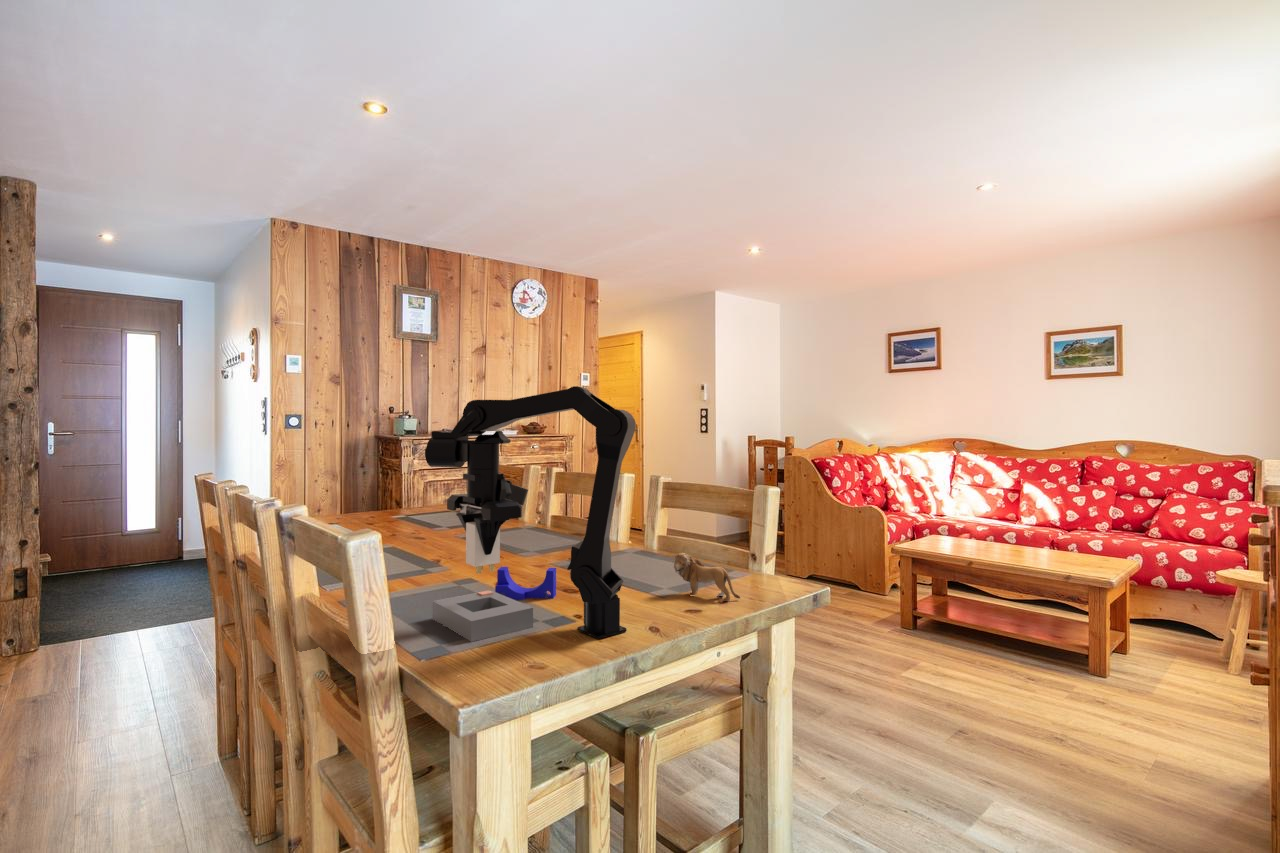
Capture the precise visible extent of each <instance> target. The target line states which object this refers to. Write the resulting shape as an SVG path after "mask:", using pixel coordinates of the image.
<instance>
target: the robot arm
mask: <svg viewBox="0 0 1280 853" xmlns="http://www.w3.org/2000/svg"><path fill="white" fill-rule="evenodd" d="M573 410H574V411H576V412H577V414H579V415H580V416H581V417H582V418H583V419H585V420H586V421H587V422H588V423H589V424H591V425H592V426H593V427H595V446H596V452H597V465H596V470H595V474H594V475H595V476H594V482H593V487H592V493H591V500H590V505H589V511H588V516H587V522H586V523H587V524H586V528H585V535H584V538H583V540H581V541H579V542H578V543H576V544H574V545H572V546H571V550H570V562H569V564H568V566H567V570H568V571H570V572H569V575H570V576H569V578H570V581H571V582H572V583H573V585H574V587H576V588H577V589H578V592H579V595H580V598H581V600H582V602H583V625H580V626H577V627H576V628H577V631H578V632H581V633H583V634H585V635H588V636H591V637H593V638H595V639H604V638H607V637H611V636H614V635H618V634H622V633H625V632H627V630H628V628H626V627H625V626H622V625H621V624H620V623H621V618H620V617H621V612H620V610H621V606H620V605H621V603H620V602H621V599H620V597H619V595H618V592H620V591H621V590H622V587H623V583H624V580H623V579H622V577H621V576H620V575H619V574H618V573H617V572H616V571H615V570H614V569H613V568H612V550H611V543H610V542H611V541H610V532H611V528H612V520H613V516H614V511H615V510H614V509H615V505H616V499H617V498H616V497H617V491H618V486H619V482H620V475H621V468H622V463H623V461H624V458H625V456H626V455H627V451H628V450H629V448H630V445H631V442H632V439H633V437H634V434H635V433H636V429H637V428H636V427H637V424H636V423H637V422H636V420H635V418H634V416H633V415H632V414H631V413H630V412H629V411H627V410H625V409H619V408H615V407H613V406H612V405H610V404H609V403H608V402H606V401H604V400H603V399H601V398H599V397H598V396H596V395H595V394H594V393H592V392H591V391H590V390H589V389H587V388H586V387H584V386H578V385H577V386H574V385H573V386H570V387H569V388H566V389H561V390H557V391H551V392H549V391H548V392H545V393H539V394H534V395H529V396H525V397H518V398H514V399H473V400H471V401H468V402H467V403H466V405H465V407H464V408H463V411H462V416H461V418H460V419H459V421H458V422H457V423H456V425H454V427H453V429H452V430H451V431H450V432H449V431H444V430H432V431H431V437H430V438H429V439H428V441H427V444H426V447H425V449H424V458H425V461H426V463H427V465H428V466H429V467H431V468H455V469H456V468H462V467H463V466H465V463H466V465H467V467H466V470H467V471H466V473H462V479H463V480H466V481H467V482H466V484H467V485H466V493H458V494H451V495H450V496H449V497H448V498H447V499H446V510H449V511H453V512H454V511H456V510H457V509H459V512H457V513H456V517H457V518H458V519H459V521H460V523H461V525H462V527H463V528H464V529H463V530H464V531H465V532H466V523H467V522H475V524H476V527H477V530H478V534H479V537H480V541H481V545H482V548H483V551H484V554H485V555H489V554H491V552H492V549H493V546H494V543H495V540H496V537H497V534H498V531H499V529H500V530H501V526H502V525H503V524H505V522H506V521H509V520H513V519H520V518H523V506H524V505H525V502H526V498H527V494H528V491H529V489H527V488H525V487H521V486H519V485H515V484H512V481H511V480H507V478H506V476H505V475H504V473H500V445H506V444H510V443H511V439H510V438H509V437H507V436H506V435H505V434H504V433H503V431H502V430H499V429H503V428H504V427H507V426H509V425H512V424H513V423H515V422H518V421H520V420H523V419H529V418H535V417H540V416H546V415H551V414H557V413H558V414H559V413H562V412H567V411H568V412H569V411H573ZM494 431H495V432H494ZM486 432H494V433H493V434H485V433H486ZM469 437H475V439H471V440H470V439H469Z"/></svg>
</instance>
